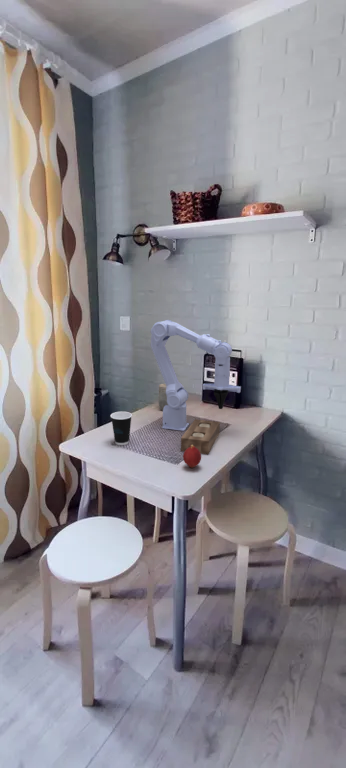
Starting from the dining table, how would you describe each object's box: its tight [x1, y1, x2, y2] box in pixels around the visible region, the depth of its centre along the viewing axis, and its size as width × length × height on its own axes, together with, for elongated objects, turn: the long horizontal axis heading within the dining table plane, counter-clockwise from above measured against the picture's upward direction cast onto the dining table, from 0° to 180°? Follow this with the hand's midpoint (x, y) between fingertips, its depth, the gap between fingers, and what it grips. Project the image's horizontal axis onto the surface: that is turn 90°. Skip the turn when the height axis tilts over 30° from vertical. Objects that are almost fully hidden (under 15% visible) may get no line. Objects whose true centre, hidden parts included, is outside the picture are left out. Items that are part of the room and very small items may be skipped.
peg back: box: [199, 423, 210, 428], centre depth 150 cm, size 4×4×4 cm
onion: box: [182, 445, 202, 469], centre depth 125 cm, size 6×6×8 cm
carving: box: [157, 383, 168, 411], centre depth 181 cm, size 6×8×12 cm
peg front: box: [193, 433, 204, 437], centre depth 141 cm, size 4×4×4 cm
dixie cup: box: [109, 411, 133, 446], centre depth 144 cm, size 8×8×11 cm
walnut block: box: [180, 418, 221, 455], centre depth 146 cm, size 10×20×5 cm, turn 162°
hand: (220, 408), depth 152 cm, fingers closed
